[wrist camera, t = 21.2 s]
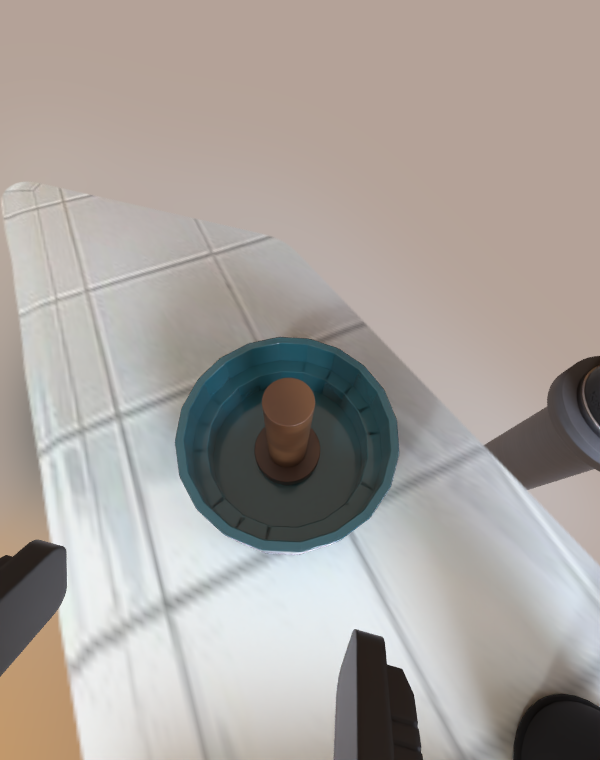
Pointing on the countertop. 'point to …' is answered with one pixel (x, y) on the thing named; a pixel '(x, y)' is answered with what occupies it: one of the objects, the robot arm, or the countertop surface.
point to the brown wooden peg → (287, 433)
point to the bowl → (246, 420)
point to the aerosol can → (559, 730)
